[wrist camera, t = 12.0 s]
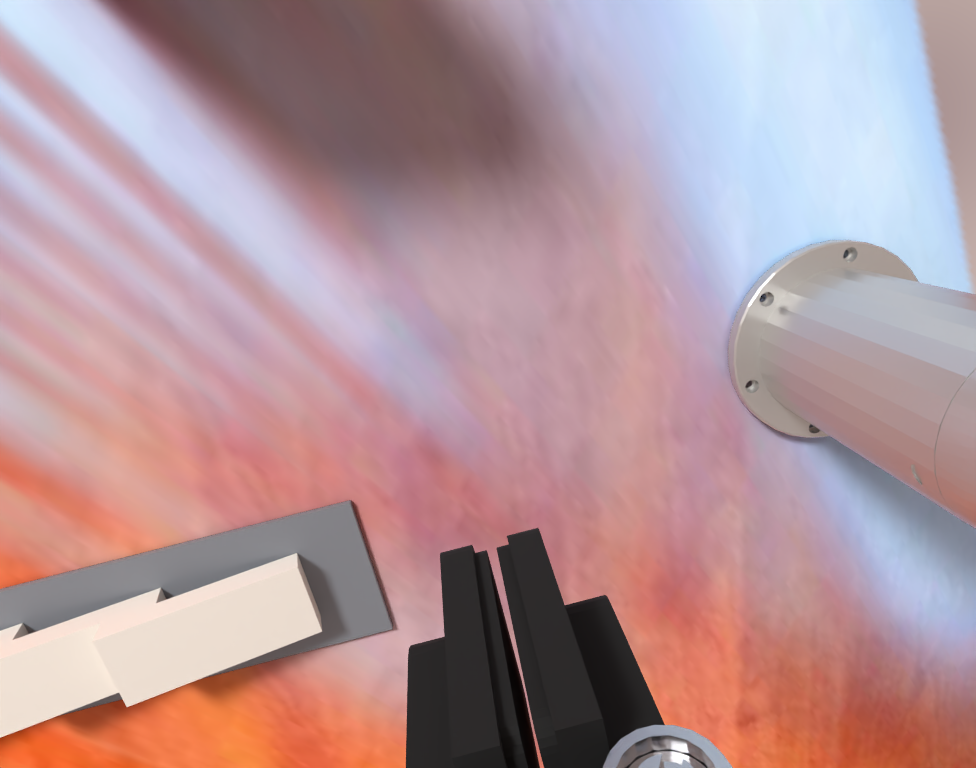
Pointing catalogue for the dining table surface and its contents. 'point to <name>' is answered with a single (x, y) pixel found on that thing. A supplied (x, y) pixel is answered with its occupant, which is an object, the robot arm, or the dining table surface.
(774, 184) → the dining table surface
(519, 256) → the dining table surface
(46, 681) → the domino
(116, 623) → the domino
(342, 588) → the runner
